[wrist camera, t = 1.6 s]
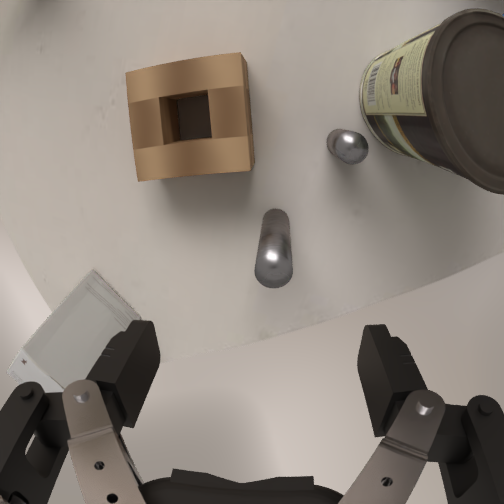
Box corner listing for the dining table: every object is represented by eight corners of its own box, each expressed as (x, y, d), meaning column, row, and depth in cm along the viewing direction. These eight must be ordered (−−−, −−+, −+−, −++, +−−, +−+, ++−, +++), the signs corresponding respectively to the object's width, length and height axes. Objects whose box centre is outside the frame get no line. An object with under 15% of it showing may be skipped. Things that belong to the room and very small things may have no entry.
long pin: (288, 208, 29) (292, 253, 20) (289, 233, 30) (293, 287, 21) (261, 209, 29) (253, 254, 20) (263, 234, 30) (256, 288, 21)
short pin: (353, 129, 26) (368, 131, 21) (353, 155, 27) (368, 164, 22) (326, 128, 26) (335, 131, 21) (327, 156, 27) (336, 164, 22)
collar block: (246, 62, 24) (240, 52, 20) (254, 162, 28) (250, 170, 24) (147, 77, 25) (125, 72, 21) (157, 171, 29) (138, 181, 24)
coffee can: (467, 147, 25) (568, 179, 12) (374, 166, 27) (448, 213, 14) (442, 43, 21) (538, 15, 8) (343, 55, 23) (399, 7, 10)
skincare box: (71, 292, 35) (0, 369, 22) (95, 265, 33) (16, 346, 20) (118, 340, 37) (65, 428, 24) (146, 318, 35) (91, 416, 22)
